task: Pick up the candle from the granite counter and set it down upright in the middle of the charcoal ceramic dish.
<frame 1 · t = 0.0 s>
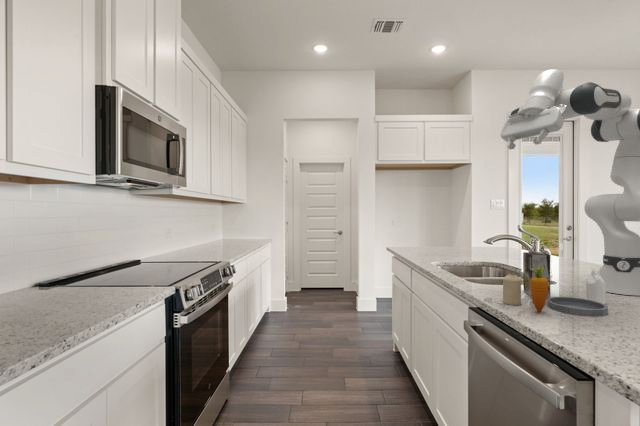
hand: (523, 146, 115), 54 cm above the worktop, tool tilted 30°, fingers open, 8 cm apart
dish: (576, 308, 114), on the worktop
carrot: (539, 313, 110), on the worktop
coffee box: (536, 295, 133), on the worktop
candle: (511, 303, 121), on the worktop
white plastic bottle: (595, 303, 121), on the worktop
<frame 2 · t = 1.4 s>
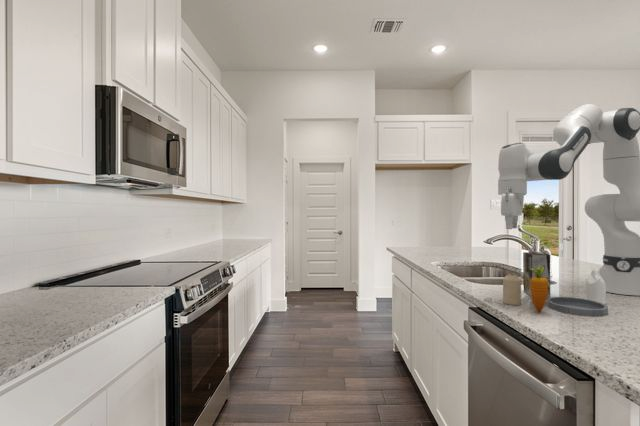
hand: (511, 228, 121), 26 cm above the worktop, tool pointing down, fingers open, 8 cm apart
nothing on the worktop moved.
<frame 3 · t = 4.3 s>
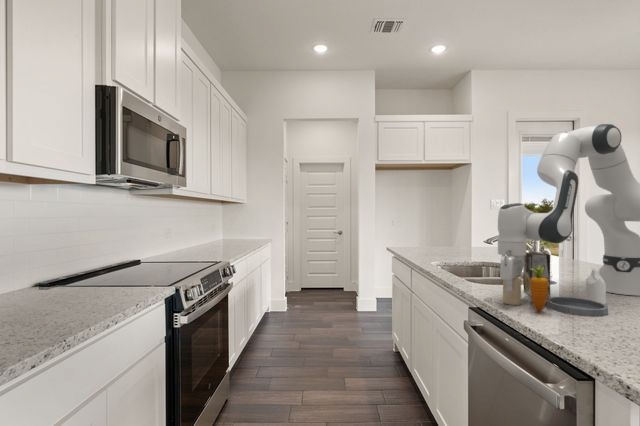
hand: (511, 288, 121), 5 cm above the worktop, tool pointing down, fingers closed on candle, 5 cm apart
candle: (511, 303, 121), on the worktop, touching gripper
everything else where it was.
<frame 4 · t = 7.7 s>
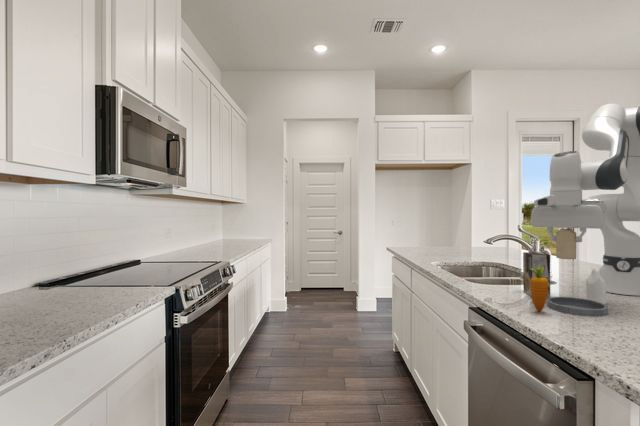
hand: (566, 241, 115), 22 cm above the worktop, tool pointing down, fingers closed on candle, 5 cm apart
candle: (566, 258, 115), point 16 cm above the worktop, touching gripper
everything else where it was.
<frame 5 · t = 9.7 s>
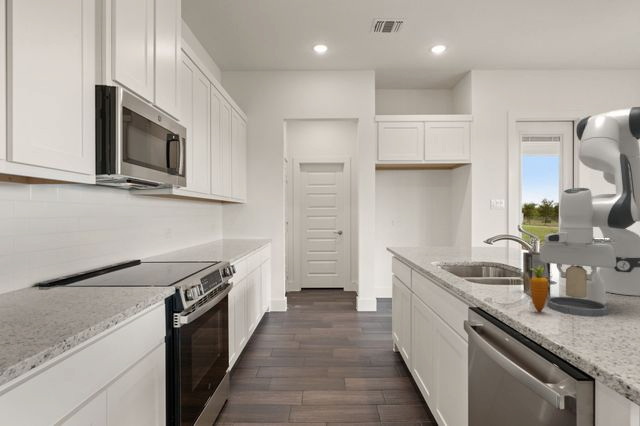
hand: (576, 278, 114), 10 cm above the worktop, tool pointing down, fingers closed on candle, 5 cm apart
candle: (576, 296, 114), point 4 cm above the worktop, touching gripper
everything else where it was.
when the fingers open (7 cm above the worktop, at t = 11.3 s): candle stays where it is, resting on dish.
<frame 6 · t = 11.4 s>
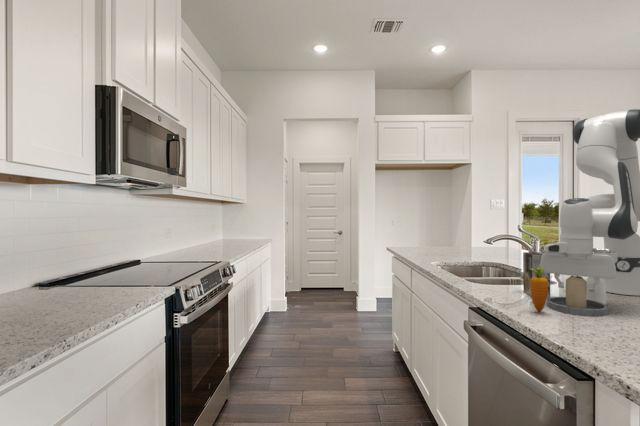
hand: (576, 289, 114), 7 cm above the worktop, tool pointing down, fingers open, 7 cm apart
candle: (576, 307, 114), point 1 cm above the worktop, touching dish
everything else where it was.
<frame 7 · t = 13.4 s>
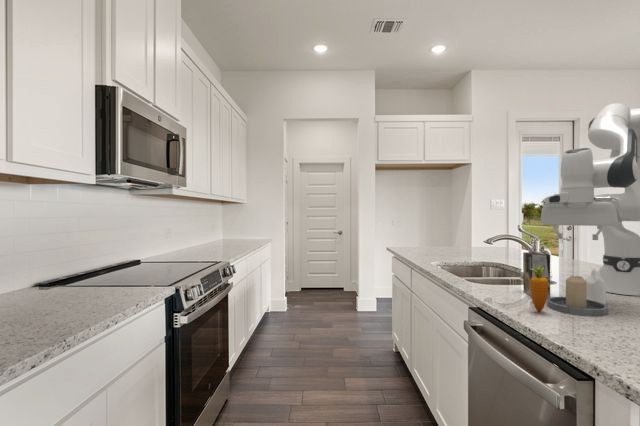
hand: (577, 239, 114), 23 cm above the worktop, tool pointing down, fingers open, 8 cm apart
nothing on the worktop moved.
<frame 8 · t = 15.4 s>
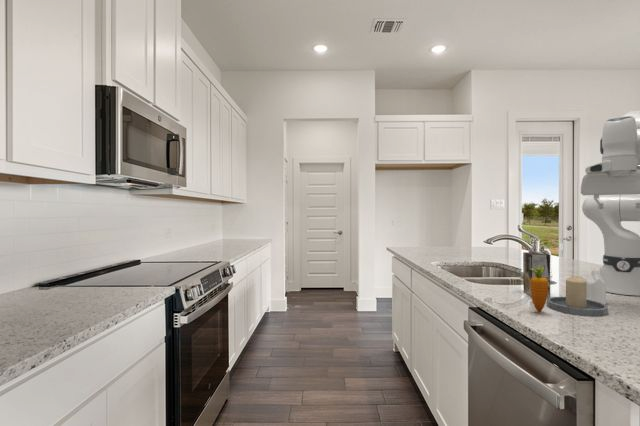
hand: (619, 208, 113), 33 cm above the worktop, tool pointing down, fingers open, 8 cm apart
nothing on the worktop moved.
at the end: candle inside the target area on the dish (0.1 cm from its centre), point 0.6 cm above the dish's base; candle tilted 0°; the gripper is holding nothing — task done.
